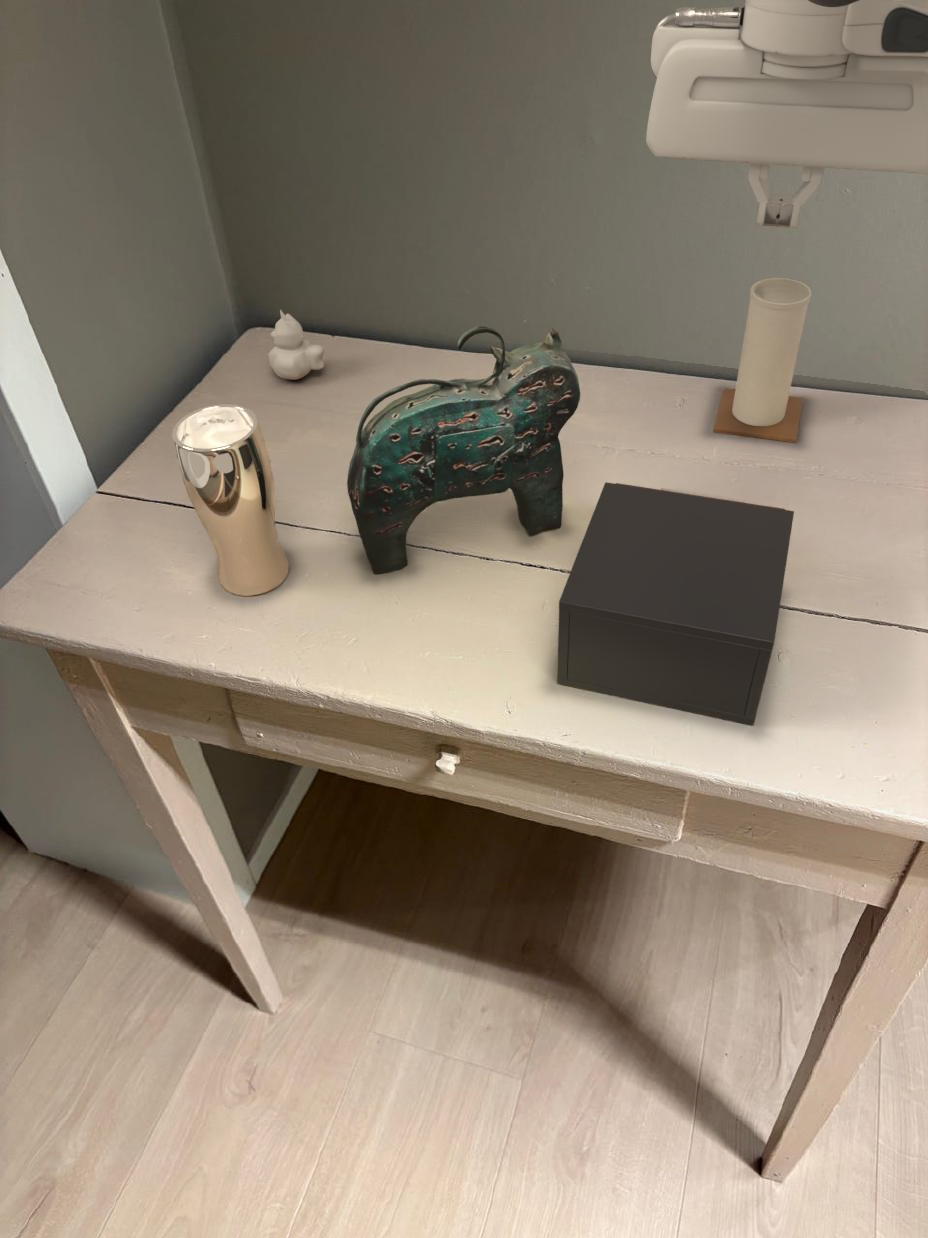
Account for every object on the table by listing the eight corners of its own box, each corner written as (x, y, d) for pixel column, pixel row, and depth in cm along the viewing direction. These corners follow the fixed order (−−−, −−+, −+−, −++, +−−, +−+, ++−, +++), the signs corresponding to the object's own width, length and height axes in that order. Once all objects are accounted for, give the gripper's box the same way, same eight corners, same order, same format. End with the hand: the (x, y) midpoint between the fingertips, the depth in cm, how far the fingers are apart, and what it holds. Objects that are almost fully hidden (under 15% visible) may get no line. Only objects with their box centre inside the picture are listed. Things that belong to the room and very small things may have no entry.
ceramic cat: (559, 496, 90) (564, 292, 76) (587, 537, 85) (598, 328, 71) (354, 547, 86) (319, 342, 72) (372, 592, 81) (338, 383, 68)
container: (788, 402, 99) (813, 280, 90) (783, 430, 95) (809, 306, 86) (734, 395, 100) (754, 275, 91) (727, 423, 96) (747, 300, 87)
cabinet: (600, 563, 83) (605, 481, 77) (774, 594, 79) (794, 510, 73) (556, 684, 73) (558, 601, 67) (753, 726, 69) (774, 642, 63)
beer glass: (307, 555, 85) (276, 408, 75) (271, 606, 81) (232, 458, 70) (238, 542, 87) (198, 397, 77) (199, 591, 83) (151, 444, 72)
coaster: (802, 400, 99) (803, 397, 99) (795, 442, 94) (796, 439, 94) (724, 391, 102) (724, 387, 101) (712, 431, 96) (713, 428, 96)
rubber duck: (282, 361, 111) (269, 295, 105) (336, 366, 110) (325, 299, 104) (264, 385, 107) (249, 318, 102) (319, 390, 106) (307, 323, 100)
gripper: (644, 17, 63) (630, 229, 72) (986, 24, 57) (921, 253, 67) (662, -5, 67) (646, 198, 76) (982, -1, 61) (921, 217, 71)
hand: (777, 224), depth 72 cm, fingers closed
